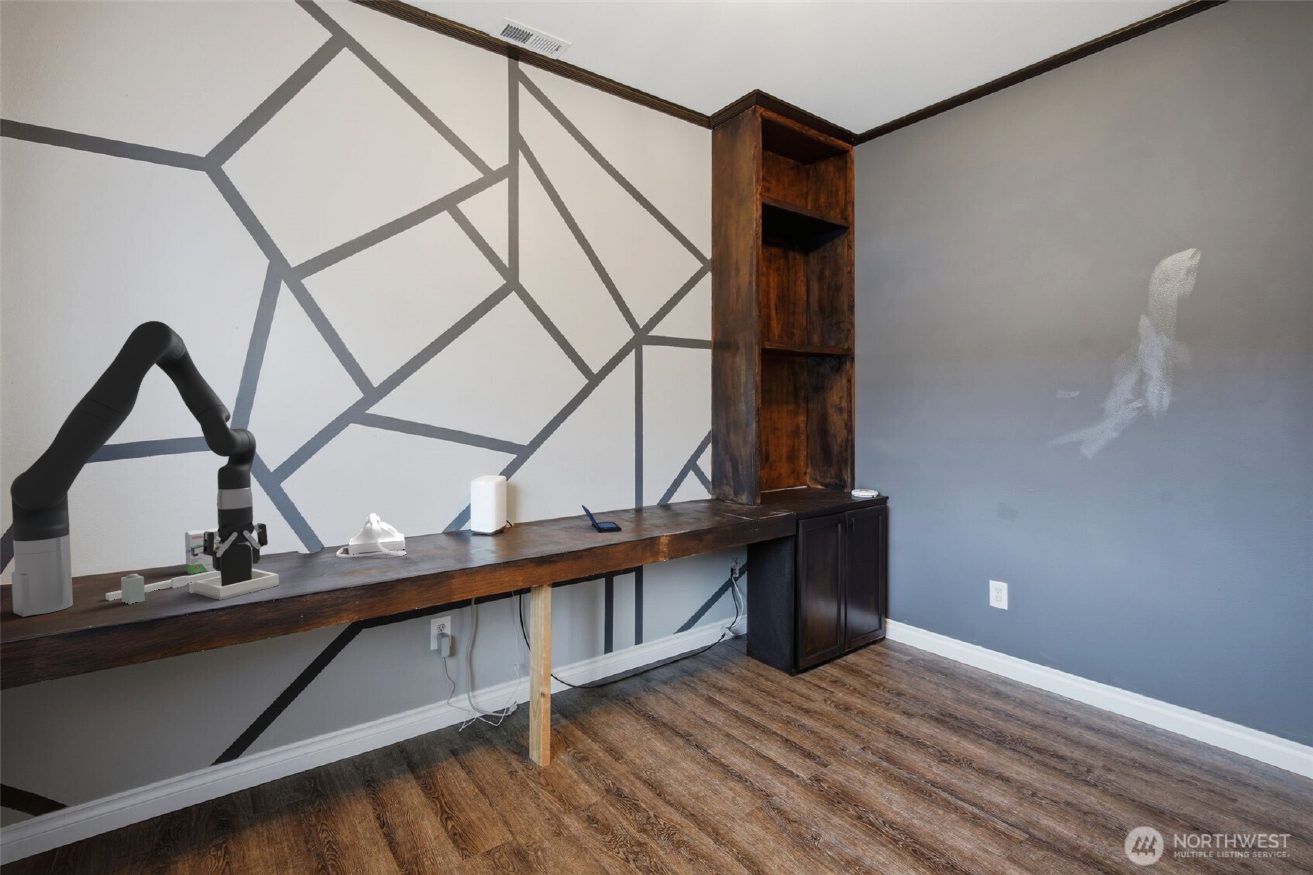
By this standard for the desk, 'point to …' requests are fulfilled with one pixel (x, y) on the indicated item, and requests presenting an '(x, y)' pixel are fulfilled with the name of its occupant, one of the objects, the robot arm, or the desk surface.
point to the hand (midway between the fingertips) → (237, 566)
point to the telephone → (375, 539)
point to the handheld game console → (602, 524)
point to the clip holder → (154, 586)
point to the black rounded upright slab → (236, 564)
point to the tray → (236, 585)
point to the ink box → (198, 551)
